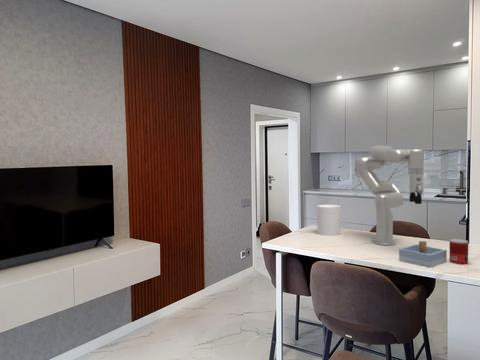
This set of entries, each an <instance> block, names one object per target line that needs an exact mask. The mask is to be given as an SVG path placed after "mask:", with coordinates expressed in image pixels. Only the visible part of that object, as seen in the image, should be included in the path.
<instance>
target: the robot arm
mask: <svg viewBox="0 0 480 360" xmlns="http://www.w3.org/2000/svg"><path fill="white" fill-rule="evenodd" d="M368 154H369V156H362V157H359V158H358V159H357V160H356V162H355V169H356V172H357V173H358V175H359V176H360V178H361V179H362V180H363V182H364V184H365V185H366V187H367V188H368V190H369V191H370V193H371V194H372V195H374V196H375V197H374V205H375V212H376V216H375V217H376V221H375V223H376V224H375V225H376V229H375V230H376V231H375V232H376V234H372V235H371V239H373V243H374V244H376V245H380V246H394V245H396V241H394V235H393V233H394V230H393V229H394V220H393V219H394V216H393V212H392V210H391V209H394V208H400V207H402V206H403V205H404V201H405V199H404V197H403V195H402V192H401V191H400V190H399V189H398V186H396V184H395V183H394V182H393V181H391V180H389V179H380V178H379V177H378V175H377V174H376V173H375V172H374V171H372V170H379V169H382V168H383V167H384V166H385V165H386V164H387V162H388V163H394V164H395V163H396V164H399V163H401V164H403V163H404V164H405V163H408V164H407V166H408V169H407V174H408V175H409V180H408V190H409V202H410V203H411V202H412V203H413V202H414V204H415V205H422V201H423V200H422V199H423V198H422V197H423V196H422V194H423V193H424V177H423V175H424V155H425V154H424V150H423V149H420V148H419V149H418V148H417V149H416V148H415V149H406V148H405V149H404V148H403V149H394V148H393V147H392V146H389V145H374V146H372V147H370V148H369V150H368Z"/></svg>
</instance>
